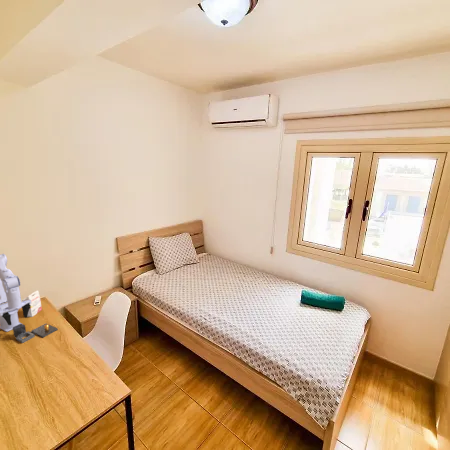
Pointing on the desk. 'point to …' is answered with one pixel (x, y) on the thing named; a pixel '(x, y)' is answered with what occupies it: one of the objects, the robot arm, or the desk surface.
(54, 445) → the desk surface
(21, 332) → the link
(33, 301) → the ink cartridge box
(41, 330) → the frame
